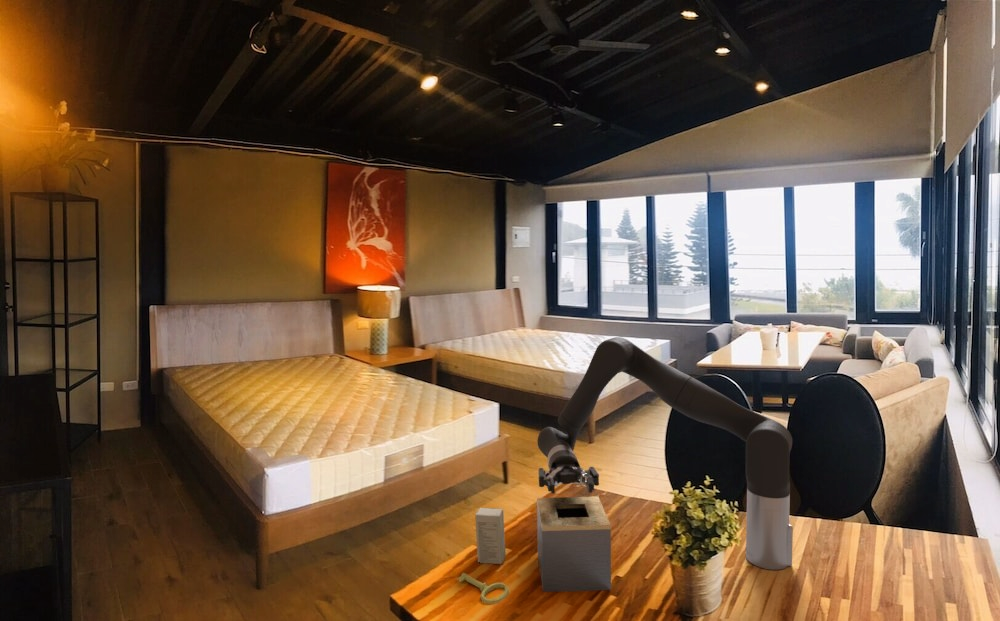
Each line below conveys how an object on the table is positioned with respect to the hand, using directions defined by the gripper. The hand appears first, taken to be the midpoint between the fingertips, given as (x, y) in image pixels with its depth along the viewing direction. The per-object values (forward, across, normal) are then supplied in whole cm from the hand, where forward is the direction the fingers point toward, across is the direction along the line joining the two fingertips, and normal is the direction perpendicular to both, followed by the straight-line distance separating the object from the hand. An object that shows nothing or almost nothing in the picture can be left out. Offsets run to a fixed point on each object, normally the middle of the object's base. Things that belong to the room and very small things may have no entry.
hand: (571, 489), depth 133 cm
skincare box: (-8, -19, +21) cm, 29 cm away
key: (+5, -21, +21) cm, 30 cm away
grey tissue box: (-1, 0, +21) cm, 21 cm away
